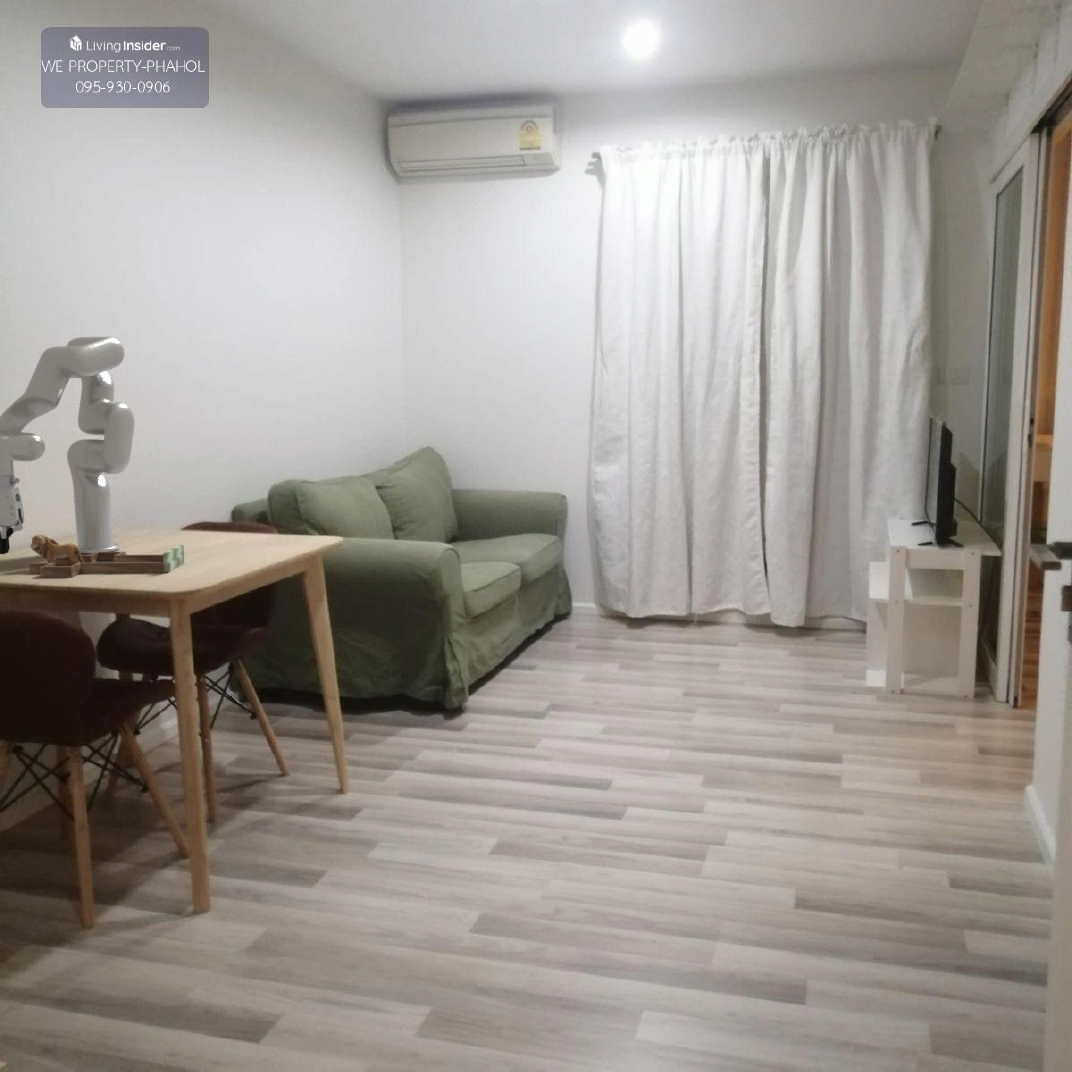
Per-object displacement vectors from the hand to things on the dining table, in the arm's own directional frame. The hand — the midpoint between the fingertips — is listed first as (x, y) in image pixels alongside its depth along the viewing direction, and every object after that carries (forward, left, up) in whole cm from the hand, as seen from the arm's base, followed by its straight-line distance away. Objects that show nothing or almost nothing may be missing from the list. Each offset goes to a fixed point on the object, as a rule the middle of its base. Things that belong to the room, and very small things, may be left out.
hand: (2, 553), depth 267 cm
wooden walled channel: (-1, +27, -4) cm, 27 cm away
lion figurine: (0, +14, -5) cm, 15 cm away
